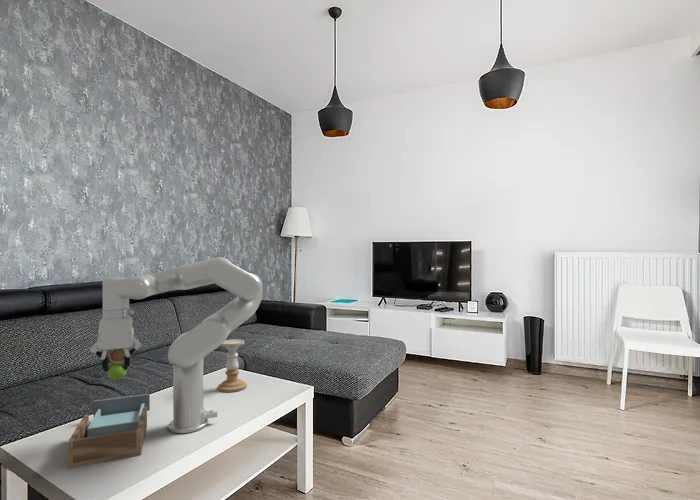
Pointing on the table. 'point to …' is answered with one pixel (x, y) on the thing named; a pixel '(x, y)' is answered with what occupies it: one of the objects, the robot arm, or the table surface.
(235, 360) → the candle holder
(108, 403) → the tray
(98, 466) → the table surface
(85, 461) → the box
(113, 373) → the snail figurine
